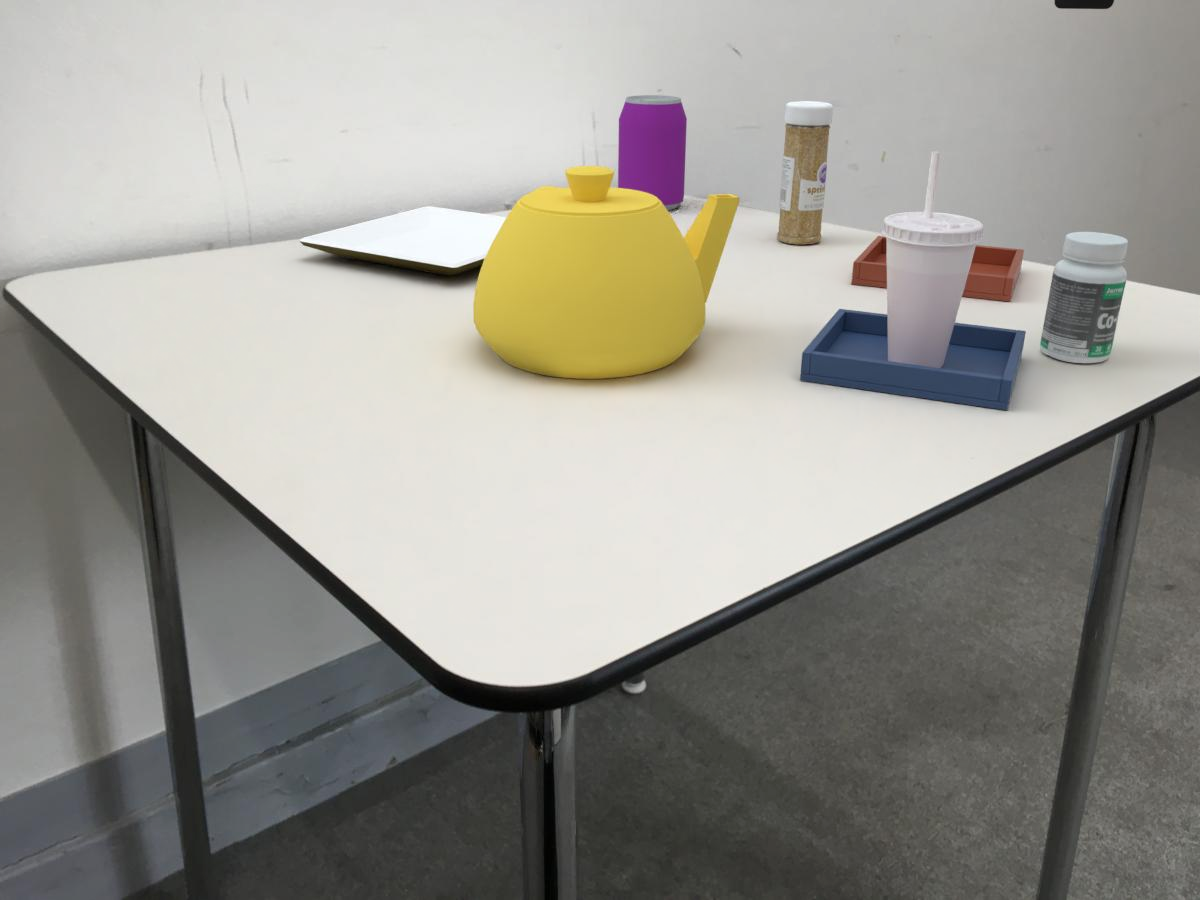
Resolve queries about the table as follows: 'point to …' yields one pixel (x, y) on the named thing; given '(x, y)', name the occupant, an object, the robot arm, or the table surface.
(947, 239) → the smoothie
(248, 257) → the table surface
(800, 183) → the sprinkles bottle
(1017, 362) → the blue tray
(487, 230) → the plate
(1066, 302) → the pill bottle
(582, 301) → the teapot
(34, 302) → the table surface
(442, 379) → the table surface
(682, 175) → the beverage can
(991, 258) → the terracotta tray
